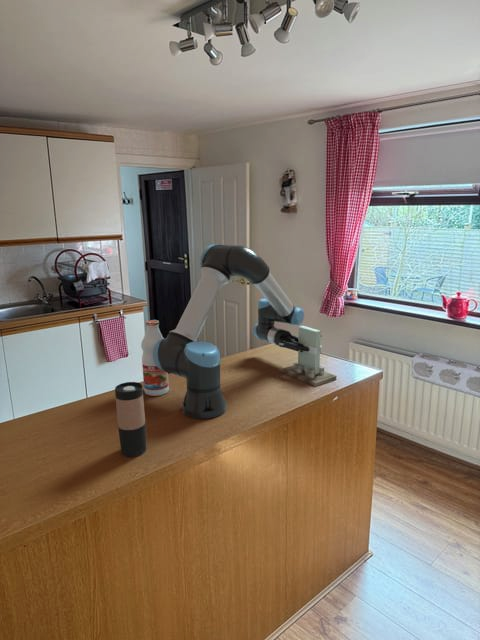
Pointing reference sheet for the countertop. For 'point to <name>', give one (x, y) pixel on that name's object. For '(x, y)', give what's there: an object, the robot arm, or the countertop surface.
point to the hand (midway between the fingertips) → (318, 350)
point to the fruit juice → (152, 375)
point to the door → (311, 339)
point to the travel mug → (131, 418)
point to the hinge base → (309, 375)
